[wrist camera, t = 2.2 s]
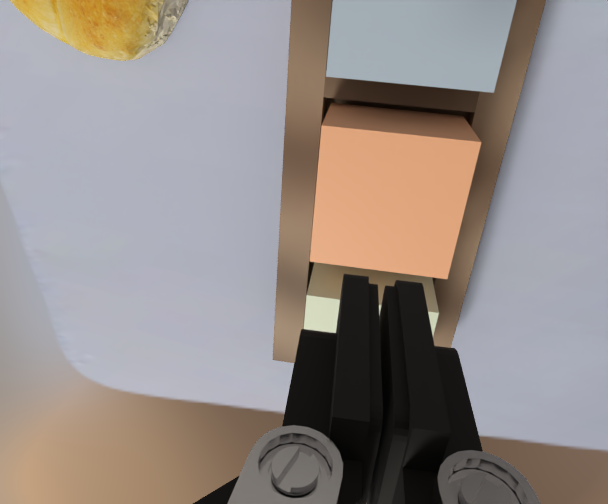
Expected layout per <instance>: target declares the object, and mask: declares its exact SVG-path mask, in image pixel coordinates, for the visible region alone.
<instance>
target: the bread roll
mask: <svg viewBox="0 0 608 504" xmlns="http://www.w3.org/2000/svg"><path fill="white" fill-rule="evenodd" d="M10 1H11V2H12V3H13V4H14V6H15V7H16V8H17V9H18V10H19V11H20V12H21V13H23V14H24V15H25V16H26V17H27V18H28V19H29V20H31V21H32V22H33V23H34V24H35V25H37V26H38V27H39V28H41V29H42V30H44V31H45V32H47V33H49V34H50V35H52V36H54V37H55V38H57V39H59V40H61V41H63V42H65V43H67V44H68V45H70V46H72V47H74V48H75V49H77V50H79V51H81V52H83V53H85V54H88V55H92V56H96V57H101V58H106V59H113V60H122V61H126V60H134V59H140V58H141V57H143V56H144V55H146V54H148V53H149V52H151V51H153V50H154V49H156V48H157V47H158V46H161V45H162V44H164V43H165V42H166V40H167V39H168V37H169V35H170V34H171V32H172V31H173V29H174V27H175V25H176V23H177V21H178V20H179V18H180V16H181V15H182V13H183V11H184V9H185V6H186V4H187V0H10Z"/></svg>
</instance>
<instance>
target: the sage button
mask: <svg viewBox="0 0 608 504" xmlns="http://www.w3.org/2000/svg"><path fill="white" fill-rule="evenodd" d="M344 274H351V275H359V276H368V277H369V283H370V284H378V295H379V316H380V310H381V304H382V299H383V293H384V288H385V286H386V285H387V286H394V284H395V281H396V280H401V281H410V282H418V283H422V284H423V287H424V293H425V298H426V303H427V308H428V314H429V319H430V324H431V329H432V335H434V331H435V327H436V323H437V319H438V315H439V311H438V305H437V300H436V295H435V290H434V285H433V279H432V277H426V276H418V275H410V274H403V273H395V272H387V271H379V270H372V269H364V268H356V267H348V266H340V265H333V264H325V263H317V262H314V266H313V270H312V274H311V279H310V283H309V287H308V291H307V296H306V307H305V319H304V329H307V330H315V331H323V332H330V333H336V328H337V320H338V312H339V305H340V297H341V289H342V281H343V275H344Z"/></svg>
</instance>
